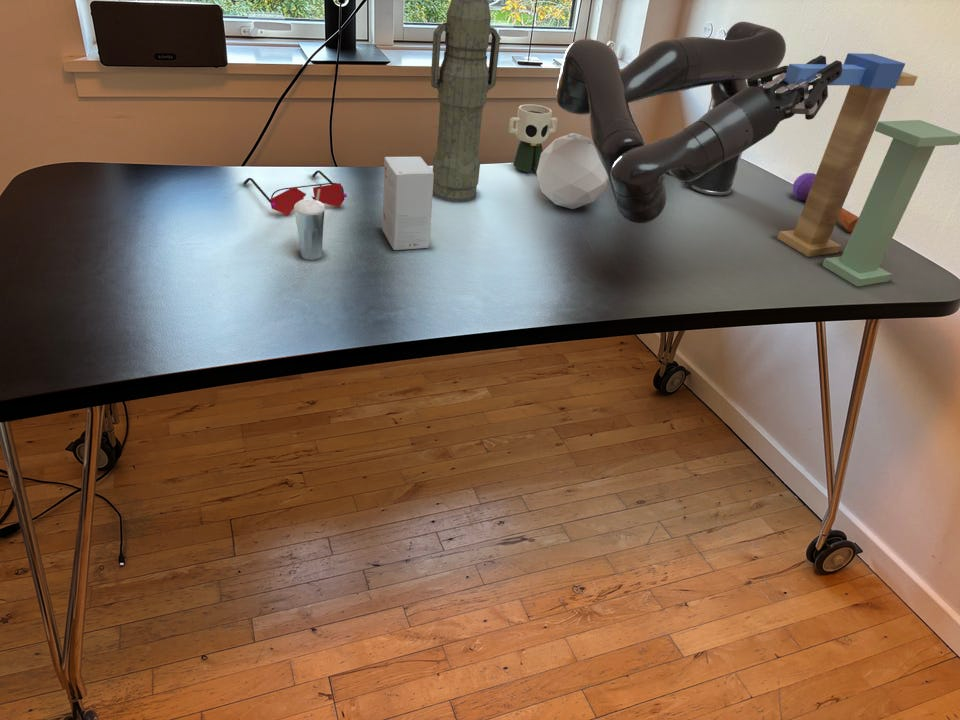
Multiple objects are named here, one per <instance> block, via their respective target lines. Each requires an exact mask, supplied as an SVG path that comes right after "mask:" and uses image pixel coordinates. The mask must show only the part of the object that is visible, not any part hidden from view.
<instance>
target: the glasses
mask: <svg viewBox="0 0 960 720" xmlns="http://www.w3.org/2000/svg"><path fill="white" fill-rule="evenodd" d="M318 174H320V175H321V176H322V177H323V178H324V179H325V180H326V181H327V182H325V183H317V184H309V185H301V186H300V185H299V186H292V187H284V188H278V189H277V190H275V191H274V192H273V193H272V194H271V196H270V197H269V196H268V195H267V193H266V192H265V191H264V190H263V189H262V188H261V187H260V186H259V184H258V183H257V182H256V181H255V180H254V178H252V177H248V178H246V179H245V180H244V181H243V183H242V184H243V185H244V186H245V185H247V184H248V183H249V182H251V183H252V184H253V185H254V186H255V187H256V189H257V190H258V191H259V192H260V193H261V195H262V196H263V197H264V198H265V199H266V201H268V203H269V204H270V207H271V210H275V211H276V212H277V213H278V212H279V213H282V214H283V215H286V216H289V215H290V214H291V213H292V211H294V205H295V204H296V203H297V202H299V201H300V200H302V199H304V198H305V197H306V196H307V193H305V192H304V191H302V190H301V188H309V187H312V191H313V195H311V196H310V197H311V198H312V200H316V197H317V191H318V189H321V190H320V196H319V201H320V202H321V203H323V205H329V206H334V207H338V208H340V207H341V205H342V204H343V202H344V201H345V198H347V197H348V195H347V193H345V189H344V187H343V185H342V183H341V182H339V183H337V182H333V181H332V180H331V179H329V178H328V176H326V175H325V173H323V172H322V171H321V170H316V171H314V173H313V174H312V177H313V178H315V177H316V176H317V175H318ZM280 191H283V192H281V193H279V194H277V195H276V196H274V195H275V194H276V193H277V192H280Z"/></svg>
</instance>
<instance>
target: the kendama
mask: <svg viewBox="0 0 960 720" xmlns="http://www.w3.org/2000/svg"><path fill="white" fill-rule="evenodd" d="M815 176H816V173H814V172H805V173H802V174H801V175H799V176H797V178H796V179H795V180H794V182H793V185H792V192H793V195H794V197H795V198H797V199H798V200H800V201H802V202H806V200H807V197H808V194H809V192H810V189H811V187H812V184H813V181H814V179H815ZM858 218H859V216H857V215H855V214H854V213H853V212H850V211H849V210H847V209H845V208H844V207H842V209H841V211H840V214H839V216H838V219H837V221H838V222H839V223H840V224H841V225H842V227H844V228H845V230H846V231H847V232H849V233H850V234H852V232H853V230H854V227H855V225H856V223H857V221H858Z"/></svg>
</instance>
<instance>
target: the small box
mask: <svg viewBox="0 0 960 720" xmlns="http://www.w3.org/2000/svg"><path fill="white" fill-rule="evenodd" d="M383 159H384V161H383V162H384V164H383V194H382V196H383V197H382V223H381V224H382V228H381V230H382V232H383V234H384V235H385V238H386V239H387V241H388V243H389V245H390V247H391V249H392V250H393V251H403V250H405V251H406V250H418V249H428V248H430V243H431V229H432V228H431V226H432V213H433V211H432V210H433V198H434V197H433V196H434V194H433V182H434V173H433V169H431V168H430V167H429V166H428V164H427V163H426V162H425V160H424V159H423V158H422V156H384V158H383Z"/></svg>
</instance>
